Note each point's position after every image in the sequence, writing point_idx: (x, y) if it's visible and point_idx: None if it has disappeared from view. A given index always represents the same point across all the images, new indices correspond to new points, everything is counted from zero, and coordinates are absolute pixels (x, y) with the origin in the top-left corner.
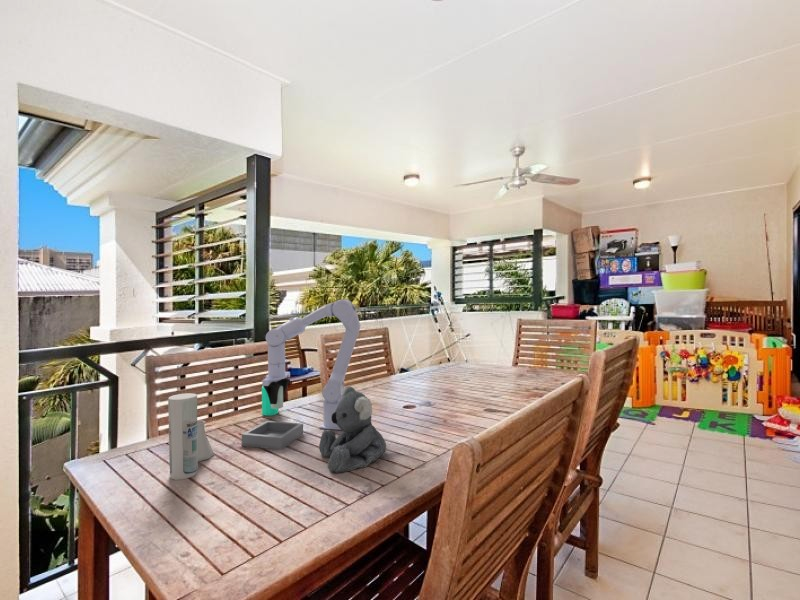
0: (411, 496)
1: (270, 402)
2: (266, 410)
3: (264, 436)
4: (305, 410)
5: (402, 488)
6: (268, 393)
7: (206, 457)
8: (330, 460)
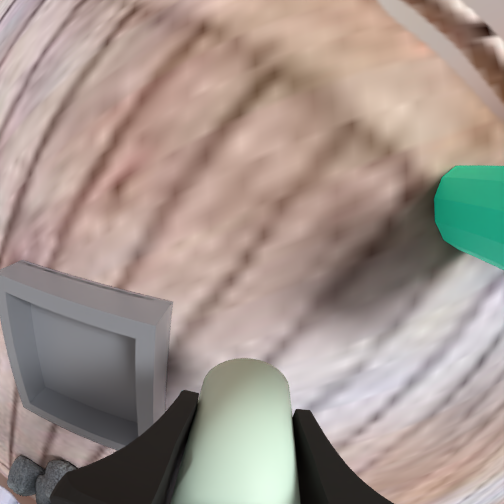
0: (32, 497)
1: (178, 398)
2: (449, 202)
3: (9, 360)
4: (471, 358)
5: None
6: (136, 448)
7: None
8: (11, 467)
